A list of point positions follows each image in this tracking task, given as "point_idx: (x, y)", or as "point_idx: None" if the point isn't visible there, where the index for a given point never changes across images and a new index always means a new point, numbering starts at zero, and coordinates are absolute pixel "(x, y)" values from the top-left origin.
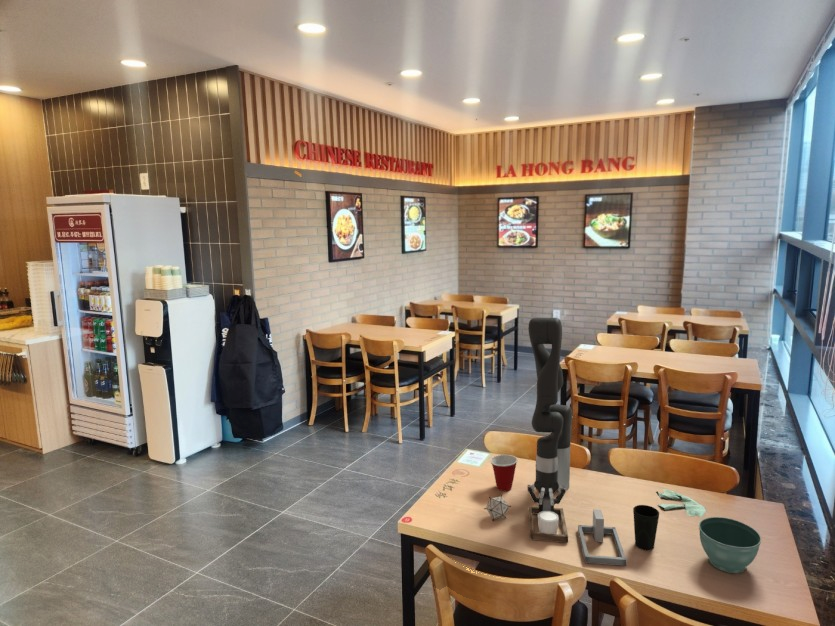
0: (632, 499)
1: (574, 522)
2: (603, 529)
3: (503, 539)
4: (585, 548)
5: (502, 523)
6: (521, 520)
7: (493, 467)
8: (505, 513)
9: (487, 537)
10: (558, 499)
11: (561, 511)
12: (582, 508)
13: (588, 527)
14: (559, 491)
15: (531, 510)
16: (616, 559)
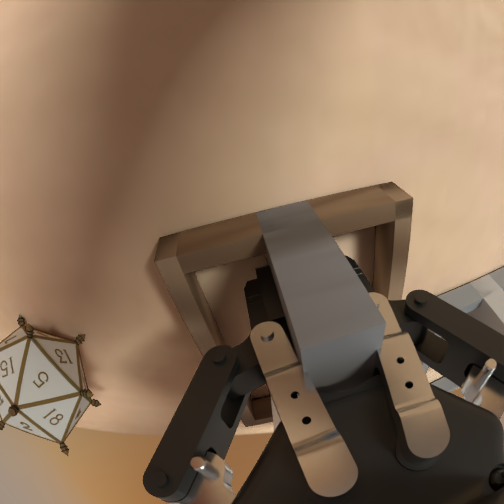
0: None
1: (431, 242)
2: None
3: (155, 420)
4: None
5: (95, 364)
6: (157, 326)
7: None
8: (81, 370)
9: (108, 420)
10: (427, 358)
11: (399, 239)
12: (482, 87)
13: (466, 312)
14: (468, 393)
15: (194, 301)
16: (458, 386)
